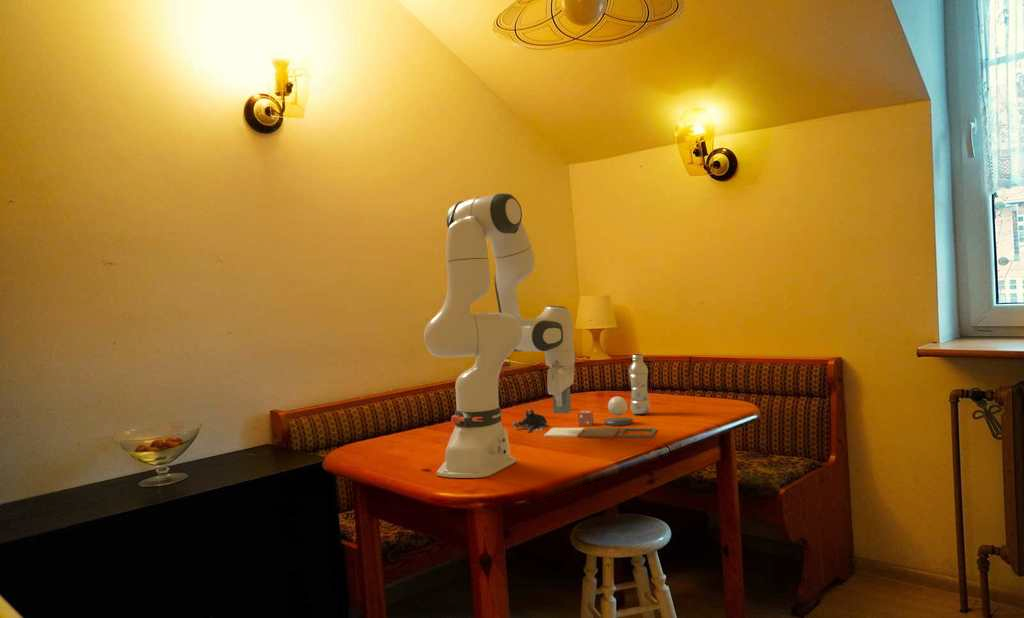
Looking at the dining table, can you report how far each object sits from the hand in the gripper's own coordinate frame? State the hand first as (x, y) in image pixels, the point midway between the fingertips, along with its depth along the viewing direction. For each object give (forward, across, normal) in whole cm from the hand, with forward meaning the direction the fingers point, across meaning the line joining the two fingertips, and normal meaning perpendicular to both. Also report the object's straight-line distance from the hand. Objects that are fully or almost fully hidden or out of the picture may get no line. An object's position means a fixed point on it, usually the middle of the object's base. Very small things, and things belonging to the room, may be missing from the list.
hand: (562, 404), depth 217 cm
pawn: (+2, 0, 0) cm, 2 cm away
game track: (+9, -1, -11) cm, 14 cm away
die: (+9, +12, -5) cm, 16 cm away
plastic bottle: (+9, +29, -20) cm, 36 cm away
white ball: (+6, +14, -15) cm, 21 cm away
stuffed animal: (+10, +8, +13) cm, 18 cm away
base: (+9, +14, -15) cm, 22 cm away
